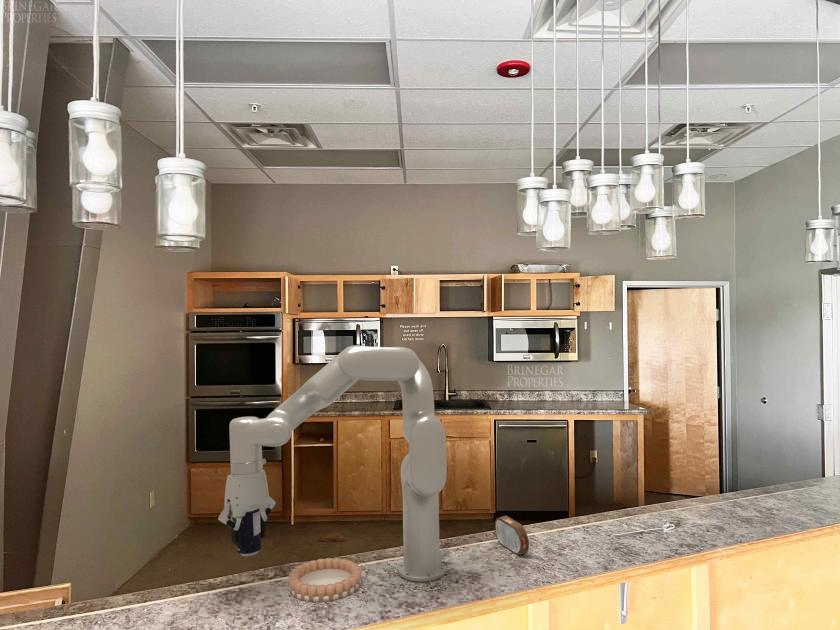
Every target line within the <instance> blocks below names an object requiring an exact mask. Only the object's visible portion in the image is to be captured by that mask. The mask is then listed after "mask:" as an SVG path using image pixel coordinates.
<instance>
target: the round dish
mask: <svg viewBox="0 0 840 630" xmlns="http://www.w3.org/2000/svg"><path fill="white" fill-rule="evenodd" d="M361 569H362V567H361V566H360V565H359V564H358V563H357V562H354V561H353V560H348V559H347V558H339V557H334V558H332V557H327V558H318V559H317V560H315V559H314V560H313V559H312V560H310V561H308V562H302V564H301V565H300V564H299V565H296V566H295V568H292V569H291V572H289V573H288V578H287V579H288V589H287V590H289V591H288V592H289V594H290V595H291V596H292V595H293V596H292V597H294V598H295V599H296V600H297V599H298V600H300V601H304V602H312V603H323V602H332V601H336V600H341V599H344V598H346V597H349V596H350V595H352V594H354V593H356V591H358V589H360V588H361V586H362V581H363V580H362V570H361Z"/></svg>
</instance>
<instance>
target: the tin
mask: <svg viewBox="0 0 840 630" xmlns="http://www.w3.org/2000/svg"><path fill="white" fill-rule="evenodd" d="M494 525H495V526H494V527H495V535H496V538H497V540H498V542H499V544H500V545H501V546H503V547H504V548H506V549H507V550H508V549H509V550H508V551H509V552H511V553H512V554H514V555H517V556H520V555H524V554H528V552H529V549H530V541H529V538H528V537H529V536H528V534H527V531H526V529H525V528H524V526H523V525H522V524H521V523H520V522H518V521H516V520H514V519H513V518H511V517H509V516H507V515H502V516H499V517H497V518H496V520H495V522H494Z"/></svg>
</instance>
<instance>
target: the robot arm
mask: <svg viewBox="0 0 840 630" xmlns="http://www.w3.org/2000/svg"><path fill="white" fill-rule="evenodd" d="M359 380H360V381H374V382H375V381H376V382H377V381H378V382H379V381H380V382H382V381H383V382H384V381H385V382H387V381H388V382H392V381H393V382H397V384H398V385H399V387H400V390H401V401H402V435H403V438H404V439H405V441H406V442H407V443H408V453H407V454H406V455H405V456H404V458H403V459H402V462H401V465H400V481H401V491H402V492H401V493H402V494H401V495H402V529H403V530H402V532H403V534H402V535H403V538H402V539H403V561H402V562H401V563H400V564H399V565H398V567H397V572H398V575H399V576H400V577H401V578H403V579H405V580H408V581H412V582H422V583H423V582H431V581H435V580H438V579H441V578H442V577H443V576H444V575H445V573H447V571H446V569H447V567H446V565H445V563H443V562H442V560H443V559H444V558H445V557H447V556H448V555H450V553H451V551H450V548H448V547H445V548H442V549H441V550H440V518H439V517H440V516H439V512H440V509H439V506H440V505H439V493H440V492H441V491H442V490H443V488H444V486H445V484H446V481H447V475H448V474H447V469H448V468H447V461H448V460H447V437H446V430H445V428H444V427H445V426H444V424H443V423H442V422H441V421H440V419H439V418H438V417H436V414H435V399H434V387H433V381H432V378H431V376H430V373H429V370H428V369H427V368H426V366H425V365H424V363H423V362H422V361H421V360H420V358H419V357H418V355H417V353H416V352H415V351H414V350H413V349H410V348H408V347H402V346H393V347H392V346H389V347H388V346H367V345H356V344H355V345H350V346H348V347H346V348H344V349H343V350H342V351H341V352H339V353H338V355H336V356H335V357H334V358H333V359H331V360H330V361H329V362H328V363H327V364H326V365H324V366H323V367H322V368H321V369H320V370H319V371H317V372H316V373H315V374H314V375H313V376H311V377H310V378H309V379H308V380H307V381H305V383H304V384H303V385H301V386H300V387H299V388H298V389H297V390H296V391H295V392H294V393H293V394H291V395H290V396H289V397H288V398H287V399H286V400H285V401H283V402H282V403H281V404H280V405H278V406H277V407H276V408H275V409H274V410H272V411H271V412H270V413H269V414H268V415H267V416H266V418H265V417H264V418H259V417H257V416H241V417H237V418H233V419H232V420H230V422H229V427H228V429H229V451H230V452H229V454H230V457H229V459H230V474H228V475H227V477H226V483H225V490H224V505H223V506H224V508H222V509H223V510H221V512H220V514H219V516H218V518H217V519H218V521H220V522H221V523H222V524H224V525H226V527H228V528H229V529H230V531H231V533H230V534H231V535H230V536H231V543H232V544H233V545H234V546H236V547H237V546H241V545H242V531H241V529H239V527H240V523H241V519H242V517H243V516H245V513H246V512H247V510H248V509H249V508H250V506H253V505H256V506H257V507H258V508H259V509H260V525H261V539H265V537H266V521H267V520H268V516H269V515H270V513H271V512H272V510H273V509H274V507H275V505H276V501H275V500H274V499H273V498H272V497H271V496H270V494H269V493H270V492H269V486H268V480H267V474H266V471H265V469H263V468H264V467H263V466H264V465H266V464H267V460H266V458H263V448H262V447H272V448H274V447H280V446H283V445H285V444H287V442H289V440H290V439H291V437H292V433H293V431H295V430H296V428H298V426H300V425H301V424H302V423H303V422H305V421H306V420H307V419H308V418H310V417H311V416H312V415H314V414H315V413H316V412H318V411H320V410H322V409H325V408H327V407H329V406H331V405H332V404H333V403H334V402H335V401H336V400H338V398H340V397H341V396H342V395H343V394H344V393H345V392H346V391H348V389H350V388H351V387H352V386H353V385H354V384H356V383H357V382H358V381H359ZM228 516H231V517H230V519H229V518H228Z"/></svg>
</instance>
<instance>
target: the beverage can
mask: <svg viewBox="0 0 840 630" xmlns="http://www.w3.org/2000/svg"><path fill="white" fill-rule="evenodd" d="M239 529H241V531H242V545H241V546H236V550H237V551H236V552H237V553H238V554H240V555H241V556H243V557H250V556H254V555H257V554H258V553H259V551H260V550H261V549H262V538H261V525H260V509H259V508H258V507H257V506H256V505H253V506H250V508H249V509H248V510H247V512H246V513H245V516H243V517H242V519H241V523H240V527H239Z"/></svg>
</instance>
